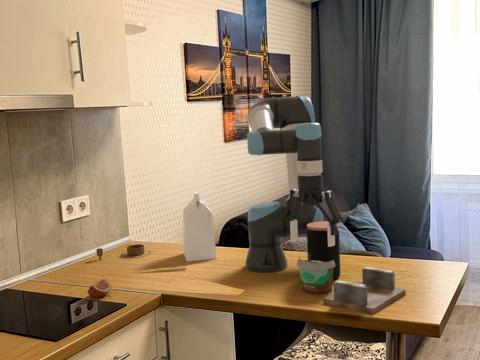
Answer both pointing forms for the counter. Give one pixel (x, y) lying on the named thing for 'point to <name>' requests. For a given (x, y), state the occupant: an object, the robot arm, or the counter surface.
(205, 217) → the milk
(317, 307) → the counter surface
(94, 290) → the fruit slice
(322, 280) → the food container
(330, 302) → the holder
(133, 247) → the place setting
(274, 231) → the robot arm
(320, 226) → the coffee jar
